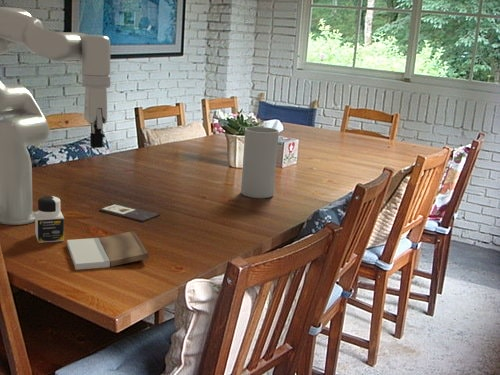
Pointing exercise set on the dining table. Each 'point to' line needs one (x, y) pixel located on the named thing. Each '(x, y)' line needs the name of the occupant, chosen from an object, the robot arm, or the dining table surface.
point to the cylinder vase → (259, 162)
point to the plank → (123, 248)
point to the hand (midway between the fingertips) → (96, 147)
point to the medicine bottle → (49, 220)
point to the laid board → (88, 253)
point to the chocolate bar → (129, 212)
